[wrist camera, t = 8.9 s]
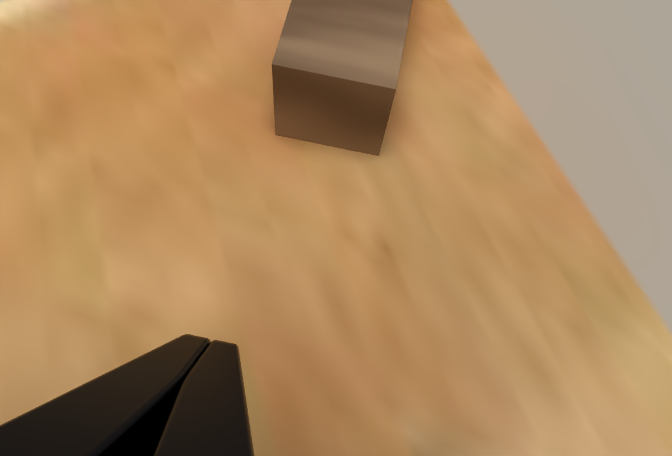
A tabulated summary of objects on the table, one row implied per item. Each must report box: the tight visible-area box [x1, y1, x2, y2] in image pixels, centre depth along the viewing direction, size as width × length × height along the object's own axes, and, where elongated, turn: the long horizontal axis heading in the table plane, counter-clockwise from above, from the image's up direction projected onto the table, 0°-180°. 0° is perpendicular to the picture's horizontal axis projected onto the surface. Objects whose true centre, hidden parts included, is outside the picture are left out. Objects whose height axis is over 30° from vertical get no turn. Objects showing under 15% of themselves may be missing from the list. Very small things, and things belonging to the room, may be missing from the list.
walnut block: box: [272, 0, 412, 156], centre depth 27 cm, size 5×5×12 cm
